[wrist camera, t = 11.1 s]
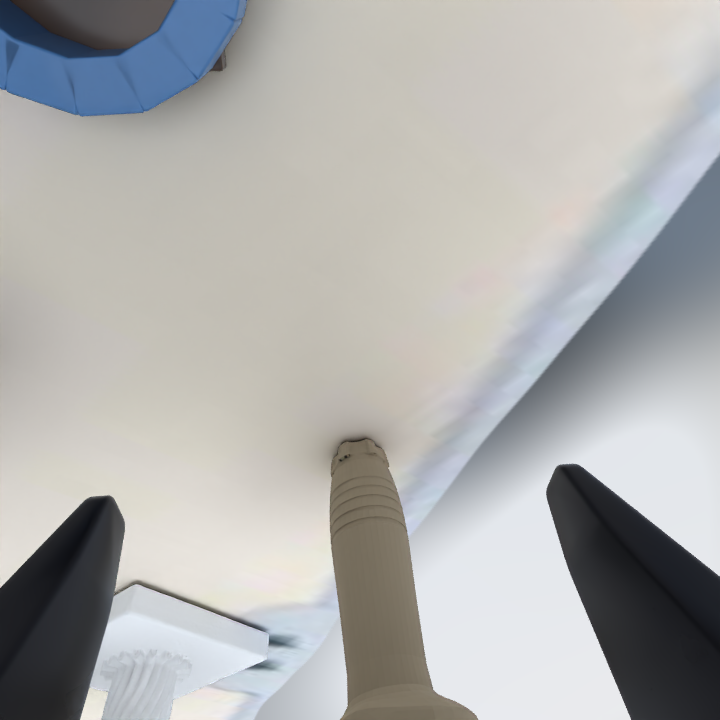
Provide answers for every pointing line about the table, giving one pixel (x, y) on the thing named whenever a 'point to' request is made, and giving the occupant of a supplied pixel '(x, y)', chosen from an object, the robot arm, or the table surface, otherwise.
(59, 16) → the peg stand
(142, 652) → the trophy
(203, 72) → the tape
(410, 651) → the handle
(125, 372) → the table surface
